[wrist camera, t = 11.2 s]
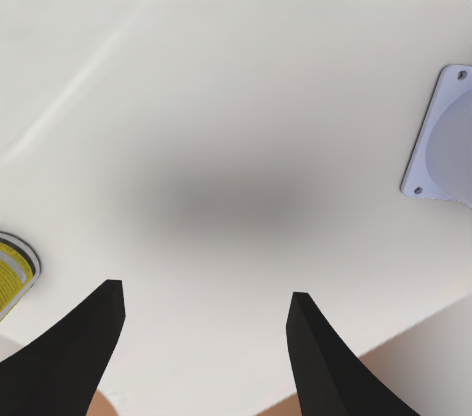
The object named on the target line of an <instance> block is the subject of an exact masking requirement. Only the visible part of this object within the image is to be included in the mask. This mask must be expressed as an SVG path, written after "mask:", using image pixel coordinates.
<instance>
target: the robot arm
mask: <svg viewBox="0 0 472 416" xmlns="http://www.w3.org/2000/svg"><path fill="white" fill-rule="evenodd" d="M460 71H462V72H463V74H462V77H461V78H460V79H459V80H458V78H457V76H458V74H459V72H460ZM418 187H419V190H418V191H417V192H414V190H415V189H416V188H418ZM401 193H402V194H404V195H405V196H407V197H416V198H429V199H441V200H454V201H460V202H462V203H463V204H465V205H466V206H468V207H469V208H471V209H472V66H465V65H449V66H447V67H445V68H444V69H443V71H442V73H441V75H440V78H439V81H438V84H437V86H436V89H435V92H434V95H433V98H432V101H431V104H430V106H429V109H428V112H427V115H426V118H425V121H424V123H423V126H422V129H421V132H420V135H419V138H418V141H417V143H416V146H415V149H414V152H413V155H412V158H411V161H410V163H409V166H408V169H407V172H406V175H405V178H404V180H403V183H402V186H401ZM125 317H126V316H125V306H124V297H123V287H122V280H108V279H107V280H106V281H104V282H103V283H102V284H101V285H100V286H99V287H98V288H97V289H96V290H94V291H93V292H92V293H91V294H90V295H89V296H88V297H87V298H86V299H84V300H83V301H82V302H81V303H80V304H79V305H78V306H76V307H75V308H74V309H73V310H72V311H71V312H70V313H68V314H67V315H66V316H65V317H64V318H62V319H61V320H60V321H59V322H57V323H56V324H55V325H54V326H52V327H51V328H50V329H49V330H47V331H46V332H45V333H43V334H42V335H41V336H39V337H38V338H37V339H35V340H34V341H32V342H31V343H30V344H28V345H27V346H25V347H24V348H22V349H21V350H19V351H18V352H16V353H15V354H13V355H12V356H10V357H8V358H7V359H5V360H3V361H2V362H0V416H86V414H87V410H88V408H89V405H90V403H91V400H92V398H93V395H94V393H95V391H96V389H97V386H98V384H99V382H100V380H101V378H102V375H103V373H104V371H105V369H106V367H107V364H108V362H109V360H110V358H111V355H112V353H113V351H114V349H115V347H116V344H117V342H118V339H119V336H120V333H121V330H122V327H123V324H124V320H125ZM286 335H287V344H288V352H289V357H290V362H291V366H292V371H293V375H294V380H295V384H296V389H297V393H298V398H299V402H300V407H301V413H302V416H420V415H419V414H418V413H416V412H415V411H414V410H413V409H411V408H410V407H409V406H408V405H407V404H405V403H404V402H403V401H402V400H401V399H399V398H398V397H397V396H396V395H395V394H394V393H393V392H392V391H390V390H389V389H388V388H387V387H386V386H385V385H384V384H383V383H382V382H381V381H379V380H378V379H377V378H376V377H375V376H374V375H373V374H372V373H371V372H370V371H369V370H368V369H367V368H366V367H365V365H363V364H362V362H361V361H360V360H359V359H358V358H357V357H356V356H355V355H354V354H353V352H352V351H351V350H350V349H349V348H348V346H347V345H346V344H345V343H344V342H343V340H342V339H341V338H340V337H339V335H338V334H337V333H336V331H335V330H334V329H333V328H332V326H331V325H330V324H329V322H328V321H327V320H326V318H325V317H324V315H323V314H322V313H321V311H320V310H319V308H318V307H317V305H316V304H315V302H314V301H313V299H312V298H311V297H310V295H309V294H308V293H304V292H293V296H292V300H291V305H290V309H289V314H288V319H287V323H286Z"/></svg>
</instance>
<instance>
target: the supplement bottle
mask: <svg viewBox="0 0 472 416" xmlns="http://www.w3.org/2000/svg"><path fill="white" fill-rule="evenodd" d="M39 273H40V267H39V263H38V260H37V258H36V256H35V254H34V253H33V251H32V250H31V249H30V248H29V247H28V246H27V245H25V244H24V243H23V242H21V241H20V240H18V239H16V238H14V237H12V236H9V235H6V234H2V233H0V322H1V321H2V319H3V318H4V317H5V316H6V315H7V314H8V313H9V311H10V310H11V309H12V308H13V307H14V306H15V305H16V304H17V303H18V301H19V300H20V299H21V298H22V297H23V296H24V295H25V294H26V293H27V291H28V290H29V289H30V288H31V287H32V286H33V284H34V283H35V282H36V280H37V279H38V277H39Z"/></svg>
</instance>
